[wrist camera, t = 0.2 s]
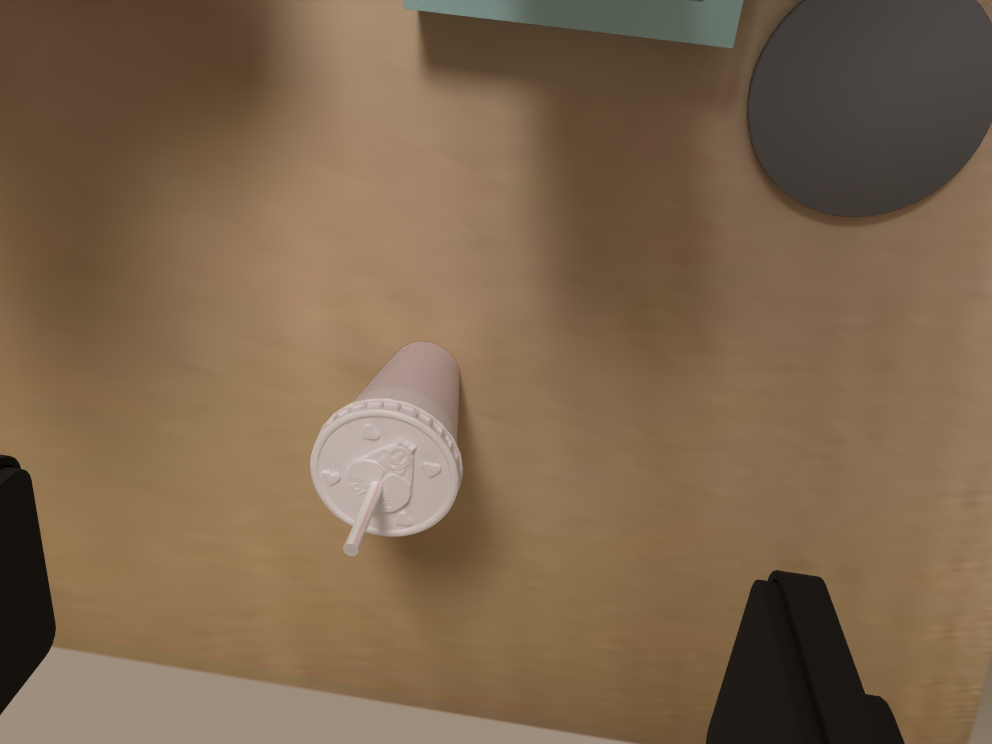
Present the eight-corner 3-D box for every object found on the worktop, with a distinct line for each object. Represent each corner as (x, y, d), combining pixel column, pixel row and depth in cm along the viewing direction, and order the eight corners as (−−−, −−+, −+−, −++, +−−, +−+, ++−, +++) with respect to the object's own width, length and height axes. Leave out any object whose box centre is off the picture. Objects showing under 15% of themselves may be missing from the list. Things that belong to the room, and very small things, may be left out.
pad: (779, -48, 34) (782, -47, 34) (1034, -18, 34) (1041, -18, 33) (724, 198, 39) (726, 201, 38) (948, 226, 38) (953, 230, 38)
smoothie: (342, 387, 45) (245, 553, 33) (402, 293, 43) (321, 434, 30) (445, 449, 46) (390, 633, 34) (510, 361, 44) (476, 525, 31)
